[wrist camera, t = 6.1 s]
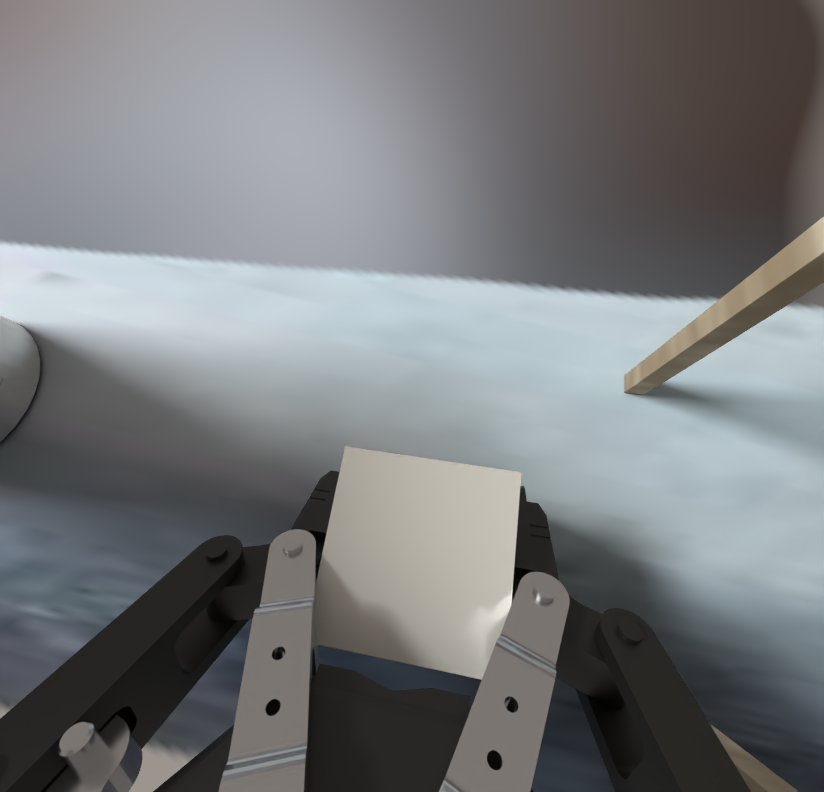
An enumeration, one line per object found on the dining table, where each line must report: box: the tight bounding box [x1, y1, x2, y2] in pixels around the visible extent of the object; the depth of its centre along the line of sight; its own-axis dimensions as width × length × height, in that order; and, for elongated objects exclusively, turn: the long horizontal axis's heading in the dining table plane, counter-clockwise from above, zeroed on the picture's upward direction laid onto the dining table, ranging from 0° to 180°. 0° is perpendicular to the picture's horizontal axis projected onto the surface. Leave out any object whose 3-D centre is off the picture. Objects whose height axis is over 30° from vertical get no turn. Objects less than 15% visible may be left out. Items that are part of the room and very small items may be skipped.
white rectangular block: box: [315, 446, 521, 680], centre depth 14 cm, size 5×5×8 cm
